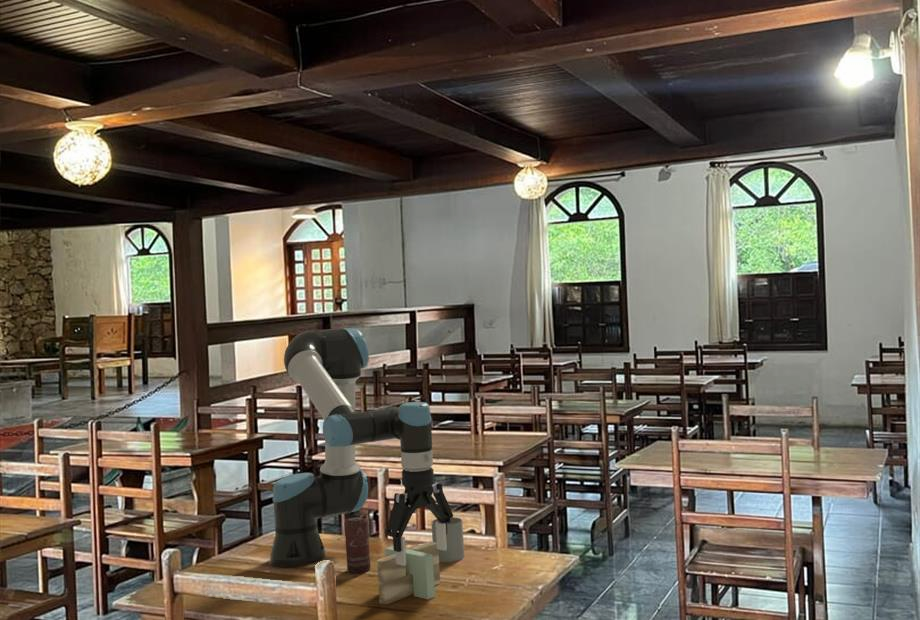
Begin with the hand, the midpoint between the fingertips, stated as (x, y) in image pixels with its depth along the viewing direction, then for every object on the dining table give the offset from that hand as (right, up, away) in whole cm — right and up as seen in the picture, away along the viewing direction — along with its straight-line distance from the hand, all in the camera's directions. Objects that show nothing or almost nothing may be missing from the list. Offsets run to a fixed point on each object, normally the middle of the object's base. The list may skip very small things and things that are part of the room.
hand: (422, 556), depth 201 cm
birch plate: (-3, -10, +3) cm, 10 cm away
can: (-18, -11, +24) cm, 31 cm away
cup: (+6, -9, +30) cm, 32 cm away
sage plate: (-3, -10, +3) cm, 10 cm away
